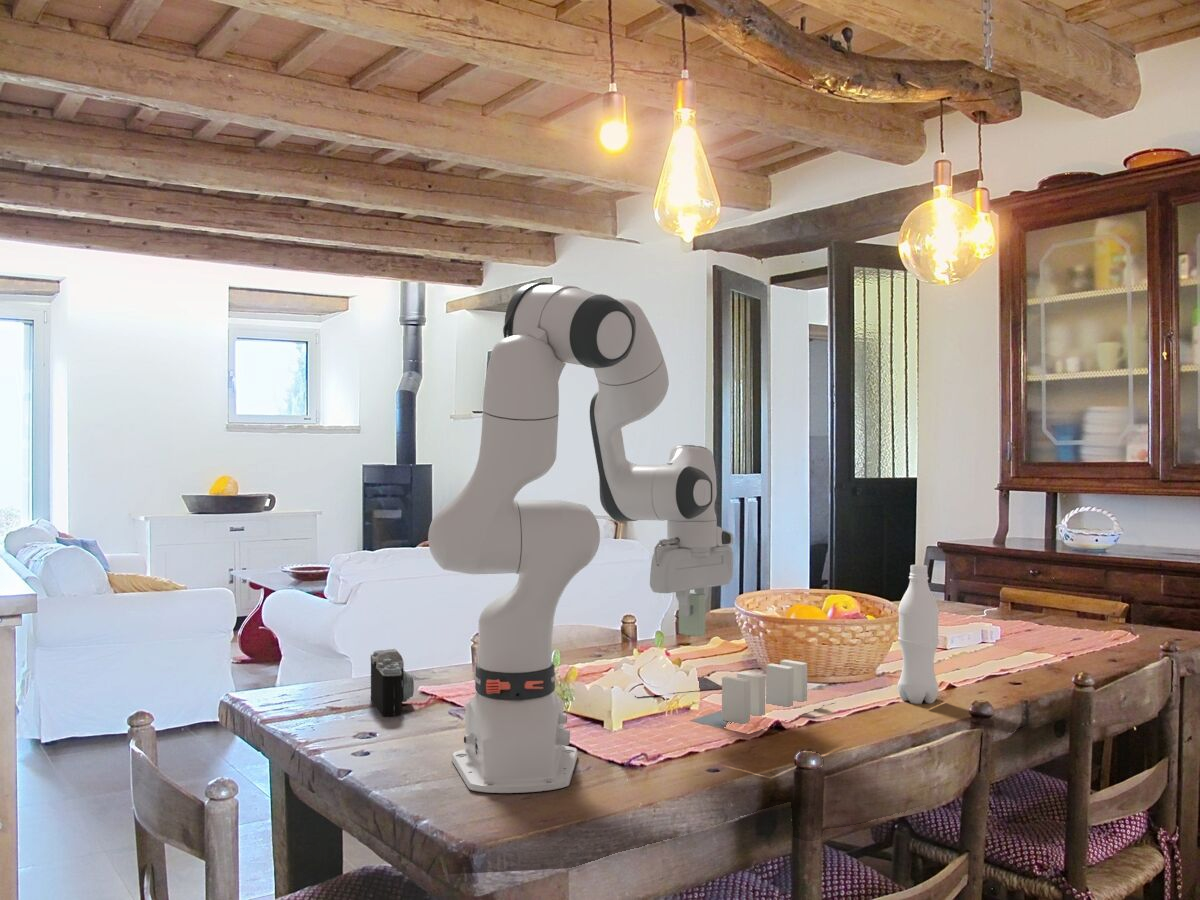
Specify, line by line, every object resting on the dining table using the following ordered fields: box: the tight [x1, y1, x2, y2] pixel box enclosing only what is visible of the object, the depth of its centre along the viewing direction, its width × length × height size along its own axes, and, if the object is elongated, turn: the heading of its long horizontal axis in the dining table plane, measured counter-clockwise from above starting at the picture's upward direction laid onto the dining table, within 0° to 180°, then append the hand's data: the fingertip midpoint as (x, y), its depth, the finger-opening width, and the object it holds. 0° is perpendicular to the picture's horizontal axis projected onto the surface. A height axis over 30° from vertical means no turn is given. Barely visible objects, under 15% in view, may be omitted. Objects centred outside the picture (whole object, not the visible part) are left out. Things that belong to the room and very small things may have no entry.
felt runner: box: [689, 709, 777, 729], centre depth 183 cm, size 28×12×1 cm, turn 137°
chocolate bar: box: [697, 677, 722, 692], centre depth 200 cm, size 9×1×18 cm
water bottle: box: [897, 564, 940, 705], centre depth 191 cm, size 7×7×25 cm
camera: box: [370, 648, 415, 719], centre depth 187 cm, size 15×7×10 cm, turn 22°
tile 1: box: [721, 675, 751, 724], centre depth 176 cm, size 2×5×7 cm, turn 47°
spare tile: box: [678, 592, 706, 637], centre depth 186 cm, size 2×5×7 cm, turn 48°
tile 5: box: [779, 658, 808, 702], centre depth 190 cm, size 2×5×7 cm, turn 47°
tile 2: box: [736, 671, 766, 716], centre depth 180 cm, size 2×5×7 cm, turn 47°
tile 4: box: [765, 663, 794, 707], centre depth 186 cm, size 2×5×7 cm, turn 47°
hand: (692, 614), depth 185 cm, fingers closed on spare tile, 2 cm apart
